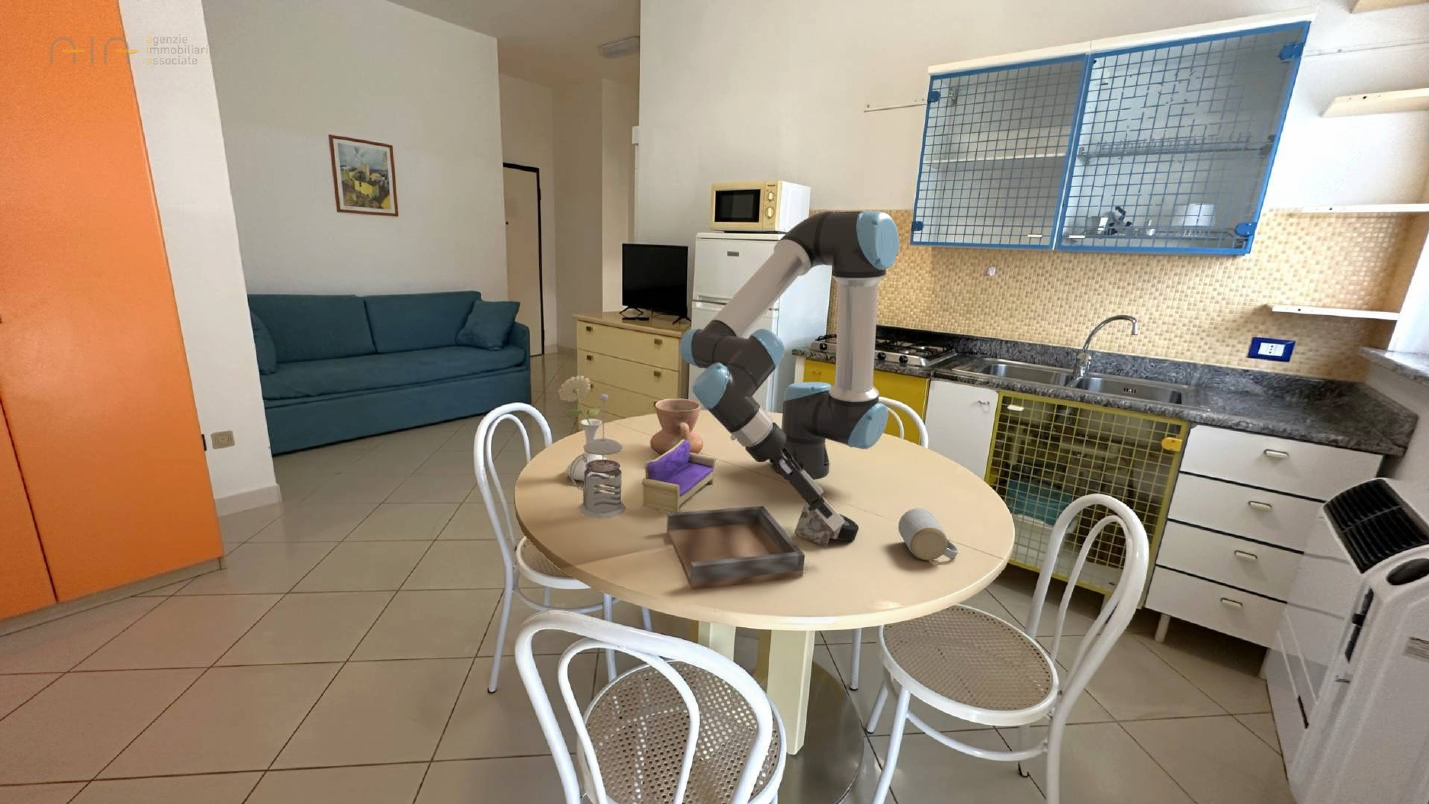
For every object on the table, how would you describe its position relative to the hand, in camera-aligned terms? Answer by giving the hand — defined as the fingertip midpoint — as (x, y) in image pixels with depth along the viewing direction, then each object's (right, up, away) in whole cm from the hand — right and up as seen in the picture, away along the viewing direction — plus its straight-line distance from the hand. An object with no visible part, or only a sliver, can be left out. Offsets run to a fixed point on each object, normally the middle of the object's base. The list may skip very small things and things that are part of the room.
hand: (828, 509), depth 112 cm
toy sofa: (-30, 0, +19) cm, 36 cm away
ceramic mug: (+19, -8, -1) cm, 21 cm away
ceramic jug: (-33, +7, +45) cm, 56 cm away
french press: (-47, -2, +9) cm, 48 cm away
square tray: (-19, -7, -6) cm, 21 cm away
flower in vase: (-53, +3, +26) cm, 59 cm away
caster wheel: (+1, -6, +4) cm, 7 cm away
